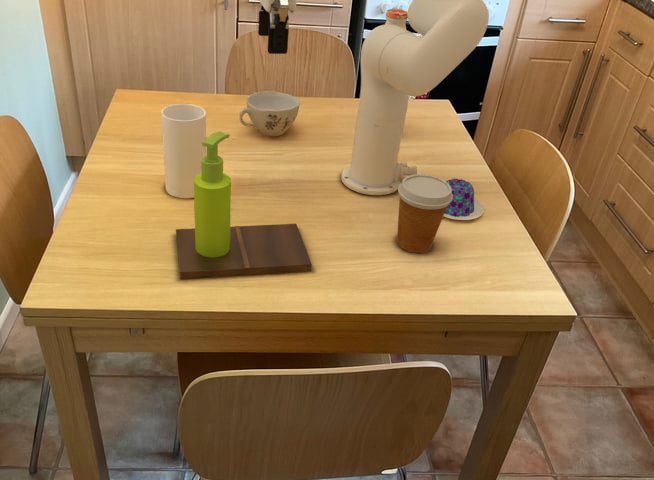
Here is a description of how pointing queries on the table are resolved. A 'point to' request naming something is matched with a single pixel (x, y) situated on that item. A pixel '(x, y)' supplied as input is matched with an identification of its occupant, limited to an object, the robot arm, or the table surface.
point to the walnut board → (246, 252)
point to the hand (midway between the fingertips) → (272, 44)
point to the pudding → (463, 201)
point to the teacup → (271, 112)
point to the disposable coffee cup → (421, 211)
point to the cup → (183, 147)
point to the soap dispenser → (212, 202)
